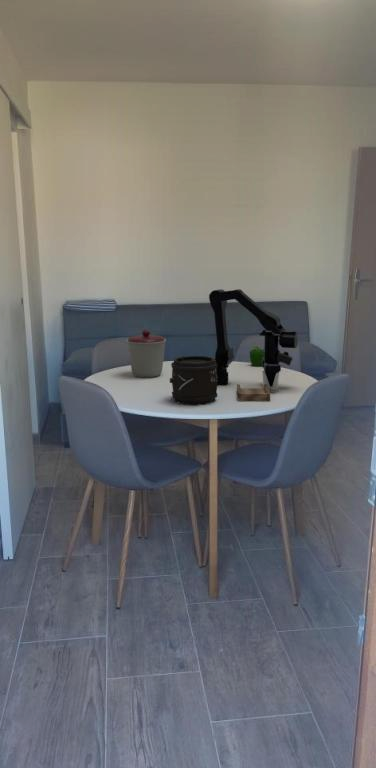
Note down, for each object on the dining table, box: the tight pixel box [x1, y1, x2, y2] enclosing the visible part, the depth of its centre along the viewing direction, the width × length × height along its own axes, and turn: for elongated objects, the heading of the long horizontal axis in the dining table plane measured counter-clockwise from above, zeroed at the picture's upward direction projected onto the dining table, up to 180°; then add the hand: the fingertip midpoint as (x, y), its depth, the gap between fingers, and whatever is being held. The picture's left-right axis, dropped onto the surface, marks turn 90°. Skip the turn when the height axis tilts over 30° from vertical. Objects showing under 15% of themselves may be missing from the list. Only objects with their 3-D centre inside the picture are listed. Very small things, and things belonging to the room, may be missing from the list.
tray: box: [236, 384, 271, 402], centre depth 230 cm, size 12×16×3 cm
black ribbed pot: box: [169, 355, 218, 406], centre depth 224 cm, size 18×18×16 cm
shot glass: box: [262, 370, 280, 391], centre depth 243 cm, size 7×7×7 cm
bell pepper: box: [249, 345, 265, 367], centre depth 289 cm, size 8×8×10 cm
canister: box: [125, 329, 167, 378], centre depth 267 cm, size 18×18×21 cm
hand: (270, 384), depth 243 cm, fingers open, 6 cm apart
